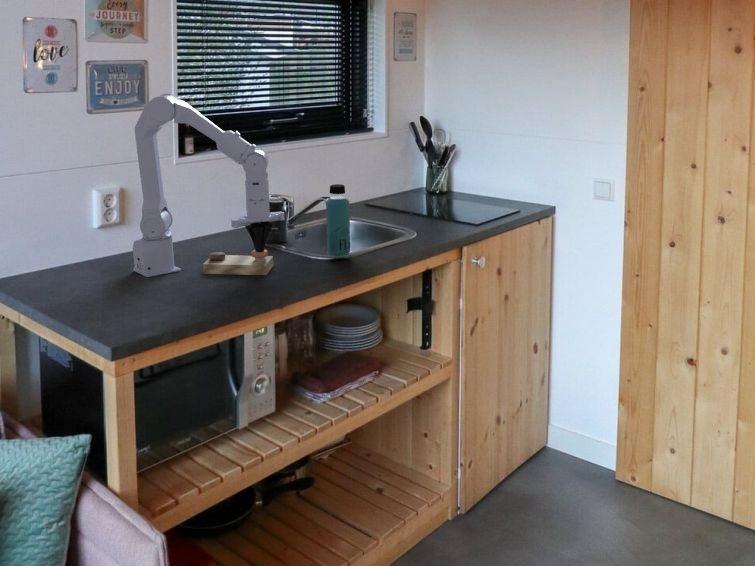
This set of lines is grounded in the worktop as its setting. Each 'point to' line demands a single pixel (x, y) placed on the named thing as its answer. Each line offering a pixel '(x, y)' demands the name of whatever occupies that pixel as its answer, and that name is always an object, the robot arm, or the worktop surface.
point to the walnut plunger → (217, 256)
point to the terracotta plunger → (259, 255)
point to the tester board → (238, 265)
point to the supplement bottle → (277, 223)
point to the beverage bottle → (338, 223)
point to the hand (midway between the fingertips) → (259, 251)
